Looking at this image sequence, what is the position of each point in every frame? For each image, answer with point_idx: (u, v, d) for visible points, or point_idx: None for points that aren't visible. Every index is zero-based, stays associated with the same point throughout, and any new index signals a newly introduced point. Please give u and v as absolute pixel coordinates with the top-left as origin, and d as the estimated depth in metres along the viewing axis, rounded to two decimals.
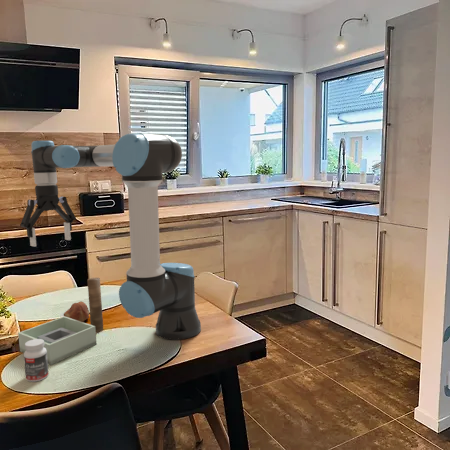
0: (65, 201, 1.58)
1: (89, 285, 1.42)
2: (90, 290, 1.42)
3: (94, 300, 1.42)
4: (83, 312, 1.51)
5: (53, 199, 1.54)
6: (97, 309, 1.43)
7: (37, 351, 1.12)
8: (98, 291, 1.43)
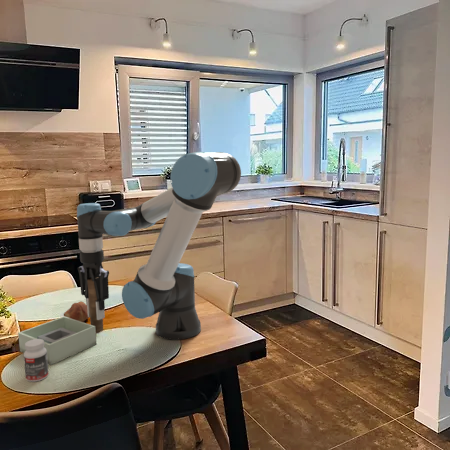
0: (101, 276, 1.39)
1: (89, 285, 1.42)
2: (90, 290, 1.42)
3: (94, 300, 1.42)
4: (83, 312, 1.51)
5: (93, 265, 1.40)
6: None
7: (37, 351, 1.12)
8: None
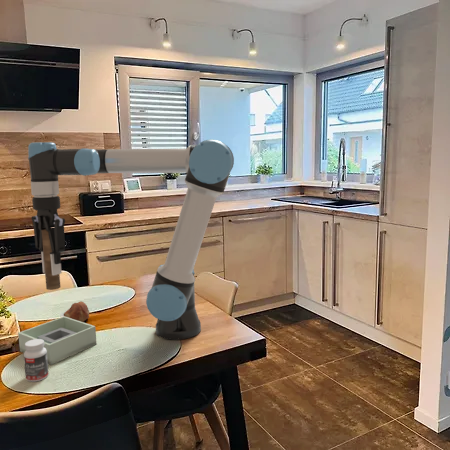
0: (55, 225, 1.22)
1: (43, 236, 1.25)
2: (44, 241, 1.26)
3: (49, 253, 1.26)
4: (83, 312, 1.51)
5: (47, 212, 1.24)
6: None
7: (37, 351, 1.12)
8: None
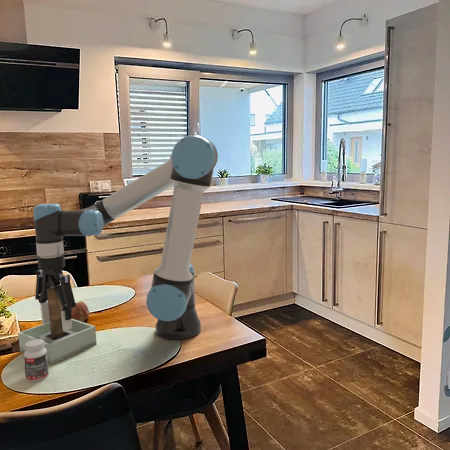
0: (61, 282, 1.25)
1: (49, 295, 1.28)
2: (50, 300, 1.28)
3: (54, 312, 1.29)
4: (83, 312, 1.51)
5: (52, 273, 1.27)
6: (58, 321, 1.30)
7: (37, 351, 1.12)
8: (59, 301, 1.29)
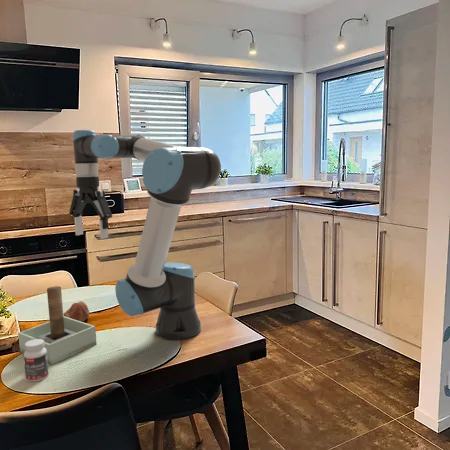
0: (97, 196, 1.44)
1: (48, 295, 1.28)
2: (50, 300, 1.28)
3: (54, 312, 1.29)
4: (83, 312, 1.51)
5: (88, 192, 1.46)
6: (58, 321, 1.30)
7: (37, 351, 1.12)
8: (59, 301, 1.29)
